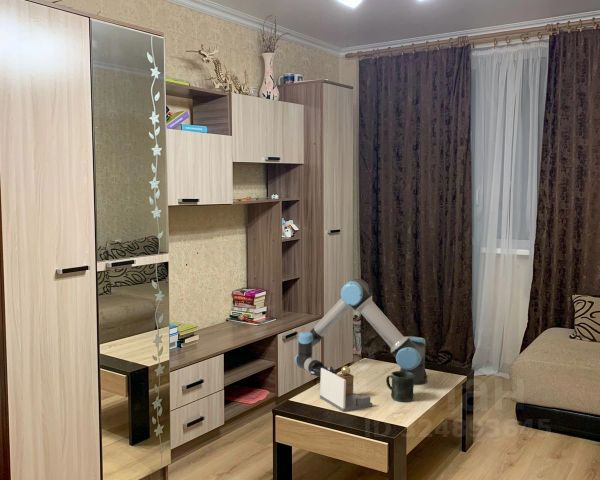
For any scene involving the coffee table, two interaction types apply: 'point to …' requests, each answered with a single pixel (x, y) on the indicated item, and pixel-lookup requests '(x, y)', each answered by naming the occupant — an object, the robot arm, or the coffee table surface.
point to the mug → (401, 385)
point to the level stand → (340, 393)
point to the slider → (347, 379)
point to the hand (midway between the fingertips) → (338, 379)
